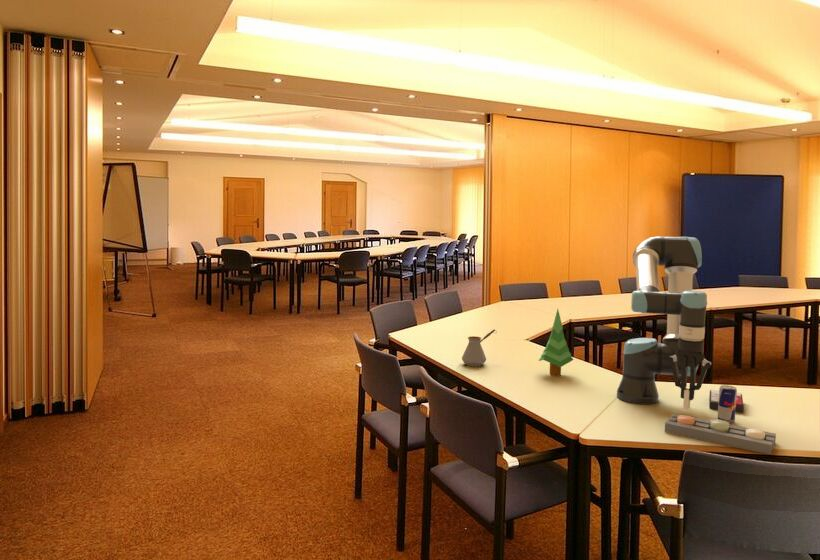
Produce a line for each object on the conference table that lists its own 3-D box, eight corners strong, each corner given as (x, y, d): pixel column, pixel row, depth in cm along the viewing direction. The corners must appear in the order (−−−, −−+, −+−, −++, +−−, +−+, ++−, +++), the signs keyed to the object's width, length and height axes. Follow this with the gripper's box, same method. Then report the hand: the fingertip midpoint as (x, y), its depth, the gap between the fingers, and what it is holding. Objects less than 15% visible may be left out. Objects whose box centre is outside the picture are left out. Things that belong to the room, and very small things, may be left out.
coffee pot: (475, 368, 273) (476, 336, 272) (456, 364, 282) (457, 332, 280) (503, 361, 288) (504, 330, 287) (485, 357, 296) (486, 327, 295)
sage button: (708, 431, 191) (709, 422, 191) (711, 427, 195) (712, 418, 195) (726, 435, 188) (727, 426, 188) (729, 430, 192) (730, 421, 192)
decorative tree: (565, 370, 273) (567, 305, 270) (575, 379, 257) (578, 310, 254) (535, 370, 272) (538, 305, 269) (544, 379, 257) (547, 310, 254)
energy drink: (727, 424, 204) (729, 390, 203) (713, 419, 209) (716, 385, 208) (738, 422, 206) (740, 388, 205) (724, 417, 211) (726, 384, 210)
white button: (743, 441, 185) (744, 431, 185) (746, 436, 189) (747, 427, 189) (763, 445, 182) (763, 435, 182) (765, 440, 186) (766, 431, 186)
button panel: (664, 431, 196) (665, 422, 196) (673, 422, 205) (674, 413, 205) (770, 454, 178) (771, 445, 178) (775, 442, 188) (776, 433, 187)
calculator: (709, 400, 220) (709, 387, 234) (709, 411, 221) (709, 398, 234) (743, 404, 215) (742, 391, 229) (743, 415, 216) (741, 402, 229)
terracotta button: (675, 427, 197) (675, 418, 197) (678, 422, 201) (679, 414, 201) (692, 430, 194) (692, 421, 194) (695, 426, 198) (696, 417, 198)
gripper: (667, 337, 195) (662, 407, 198) (710, 343, 188) (705, 416, 190) (672, 333, 201) (668, 401, 204) (715, 339, 193) (710, 409, 196)
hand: (686, 408), depth 197 cm, fingers closed
